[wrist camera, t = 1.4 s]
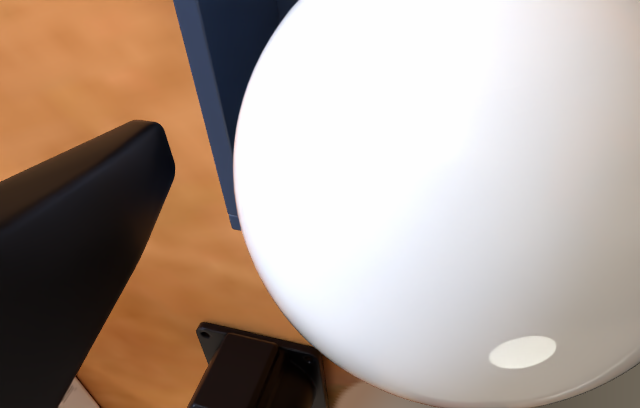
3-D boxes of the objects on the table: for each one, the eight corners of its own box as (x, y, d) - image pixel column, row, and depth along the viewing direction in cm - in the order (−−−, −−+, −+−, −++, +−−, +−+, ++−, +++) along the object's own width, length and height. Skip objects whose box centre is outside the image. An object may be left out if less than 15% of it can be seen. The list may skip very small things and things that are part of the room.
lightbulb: (456, 109, 17) (350, 503, 9) (327, -96, 14) (32, 227, 7) (716, 5, 13) (886, 526, 6) (607, -303, 10) (652, -92, 3)
